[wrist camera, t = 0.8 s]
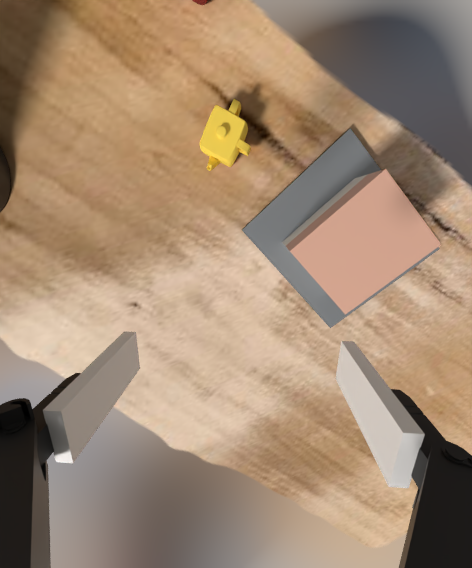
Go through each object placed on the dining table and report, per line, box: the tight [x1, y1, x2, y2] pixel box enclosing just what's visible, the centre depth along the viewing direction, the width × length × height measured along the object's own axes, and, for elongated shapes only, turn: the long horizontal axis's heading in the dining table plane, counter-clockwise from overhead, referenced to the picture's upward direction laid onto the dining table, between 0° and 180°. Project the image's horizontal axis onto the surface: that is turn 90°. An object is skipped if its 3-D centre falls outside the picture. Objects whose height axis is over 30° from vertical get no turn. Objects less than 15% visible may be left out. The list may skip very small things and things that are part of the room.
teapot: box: [200, 99, 251, 171], centre depth 30 cm, size 8×6×5 cm
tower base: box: [242, 129, 441, 328], centre depth 31 cm, size 20×18×9 cm
